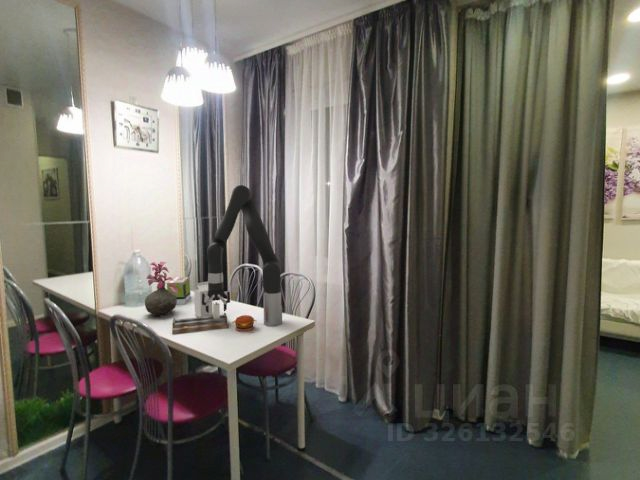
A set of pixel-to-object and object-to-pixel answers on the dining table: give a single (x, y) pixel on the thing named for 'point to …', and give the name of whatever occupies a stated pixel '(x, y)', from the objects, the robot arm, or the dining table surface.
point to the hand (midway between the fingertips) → (216, 311)
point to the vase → (160, 293)
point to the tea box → (181, 289)
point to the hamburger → (244, 323)
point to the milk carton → (199, 308)
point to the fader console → (198, 324)
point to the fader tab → (216, 310)
